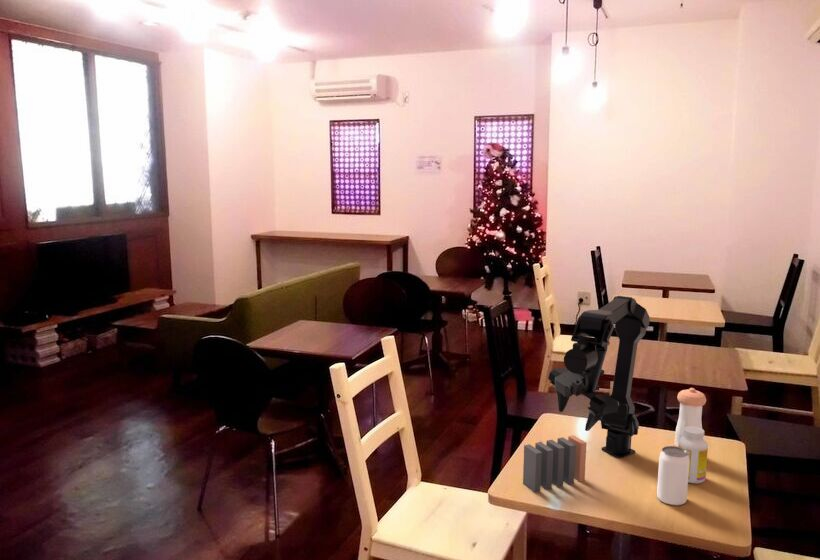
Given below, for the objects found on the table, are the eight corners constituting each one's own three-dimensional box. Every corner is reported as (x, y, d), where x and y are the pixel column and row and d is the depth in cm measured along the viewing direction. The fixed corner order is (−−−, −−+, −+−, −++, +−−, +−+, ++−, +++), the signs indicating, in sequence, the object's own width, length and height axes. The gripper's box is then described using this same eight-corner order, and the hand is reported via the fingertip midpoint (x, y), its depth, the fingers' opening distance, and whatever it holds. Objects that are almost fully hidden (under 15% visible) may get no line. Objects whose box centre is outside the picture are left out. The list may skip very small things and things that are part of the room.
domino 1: (528, 482, 160) (529, 444, 158) (540, 491, 155) (541, 452, 154) (522, 483, 159) (524, 445, 158) (534, 492, 155) (536, 453, 153)
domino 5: (571, 472, 165) (573, 435, 163) (584, 480, 161) (586, 442, 159) (566, 473, 165) (568, 436, 163) (579, 481, 160) (581, 443, 158)
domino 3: (550, 477, 163) (551, 439, 161) (562, 485, 158) (564, 447, 156) (545, 478, 162) (546, 440, 160) (557, 487, 157) (559, 448, 156)
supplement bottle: (703, 474, 164) (707, 426, 162) (706, 486, 158) (710, 436, 155) (675, 470, 166) (679, 422, 164) (676, 482, 160) (680, 433, 158)
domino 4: (561, 474, 164) (562, 437, 162) (573, 483, 159) (575, 445, 158) (556, 475, 163) (557, 438, 162) (568, 484, 159) (570, 446, 157)
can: (689, 507, 148) (693, 458, 146) (659, 504, 149) (662, 456, 147) (683, 493, 154) (686, 446, 152) (654, 491, 155) (657, 444, 153)
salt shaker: (667, 455, 174) (672, 387, 171) (681, 448, 179) (686, 382, 175) (693, 465, 169) (698, 395, 165) (707, 457, 173) (712, 389, 170)
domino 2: (539, 479, 161) (540, 441, 160) (551, 488, 157) (553, 449, 155) (534, 480, 161) (535, 443, 159) (546, 490, 156) (547, 451, 154)
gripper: (539, 348, 159) (524, 405, 163) (595, 384, 144) (577, 445, 148) (572, 346, 165) (556, 401, 169) (628, 380, 150) (610, 439, 154)
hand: (573, 420), depth 160 cm, fingers open, 9 cm apart
